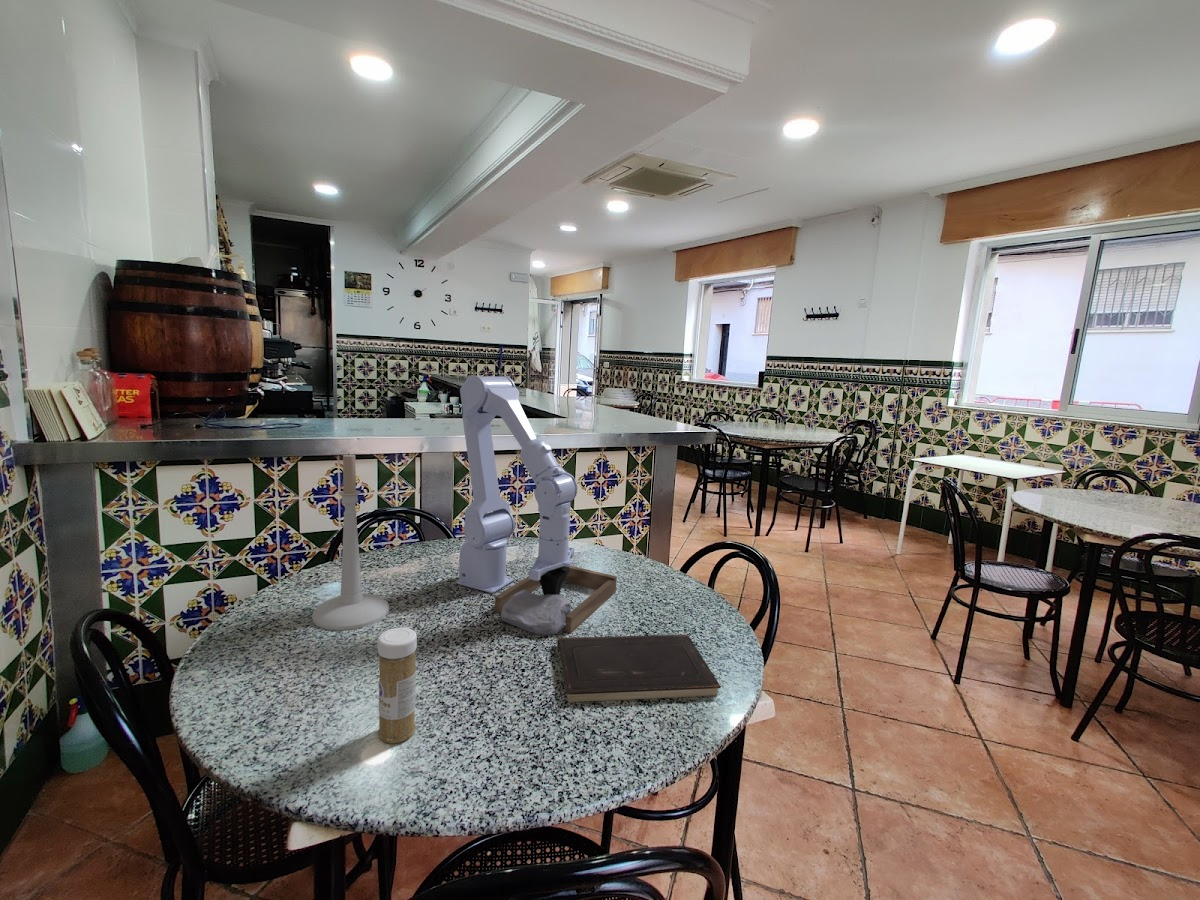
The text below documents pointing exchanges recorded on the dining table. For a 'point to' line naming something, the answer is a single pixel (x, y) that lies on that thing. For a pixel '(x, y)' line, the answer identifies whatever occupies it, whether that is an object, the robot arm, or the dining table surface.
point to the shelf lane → (577, 576)
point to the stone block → (536, 612)
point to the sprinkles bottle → (397, 684)
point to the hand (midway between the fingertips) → (550, 602)
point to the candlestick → (350, 571)
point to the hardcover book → (634, 668)
